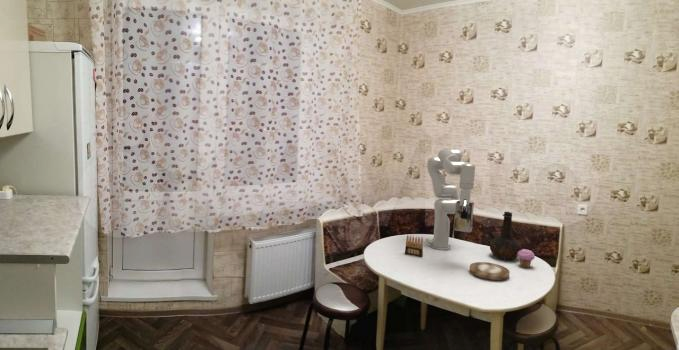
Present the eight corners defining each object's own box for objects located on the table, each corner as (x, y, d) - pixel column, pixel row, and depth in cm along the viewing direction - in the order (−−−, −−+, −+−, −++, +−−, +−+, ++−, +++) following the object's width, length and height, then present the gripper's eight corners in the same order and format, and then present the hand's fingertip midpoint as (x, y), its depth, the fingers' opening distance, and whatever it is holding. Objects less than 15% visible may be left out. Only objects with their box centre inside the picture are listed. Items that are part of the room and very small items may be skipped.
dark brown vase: (517, 254, 248) (522, 210, 244) (522, 264, 231) (527, 217, 227) (487, 251, 253) (491, 207, 249) (490, 260, 236) (494, 214, 232)
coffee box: (472, 230, 226) (474, 202, 224) (470, 233, 221) (472, 204, 218) (455, 227, 230) (457, 200, 228) (453, 230, 225) (455, 202, 222)
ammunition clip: (404, 254, 242) (405, 234, 240) (405, 253, 244) (406, 234, 242) (421, 257, 237) (423, 237, 235) (422, 256, 238) (424, 237, 237)
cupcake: (516, 267, 225) (518, 250, 224) (516, 262, 233) (517, 246, 232) (534, 270, 222) (535, 253, 221) (532, 265, 230) (534, 248, 229)
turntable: (469, 276, 208) (469, 272, 207) (469, 263, 226) (469, 259, 226) (510, 282, 201) (511, 278, 201) (507, 268, 220) (508, 264, 220)
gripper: (459, 183, 231) (457, 213, 234) (458, 187, 215) (456, 219, 217) (473, 184, 229) (471, 214, 231) (473, 188, 213) (470, 221, 215)
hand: (463, 216), depth 224 cm, fingers closed on coffee box, 7 cm apart
